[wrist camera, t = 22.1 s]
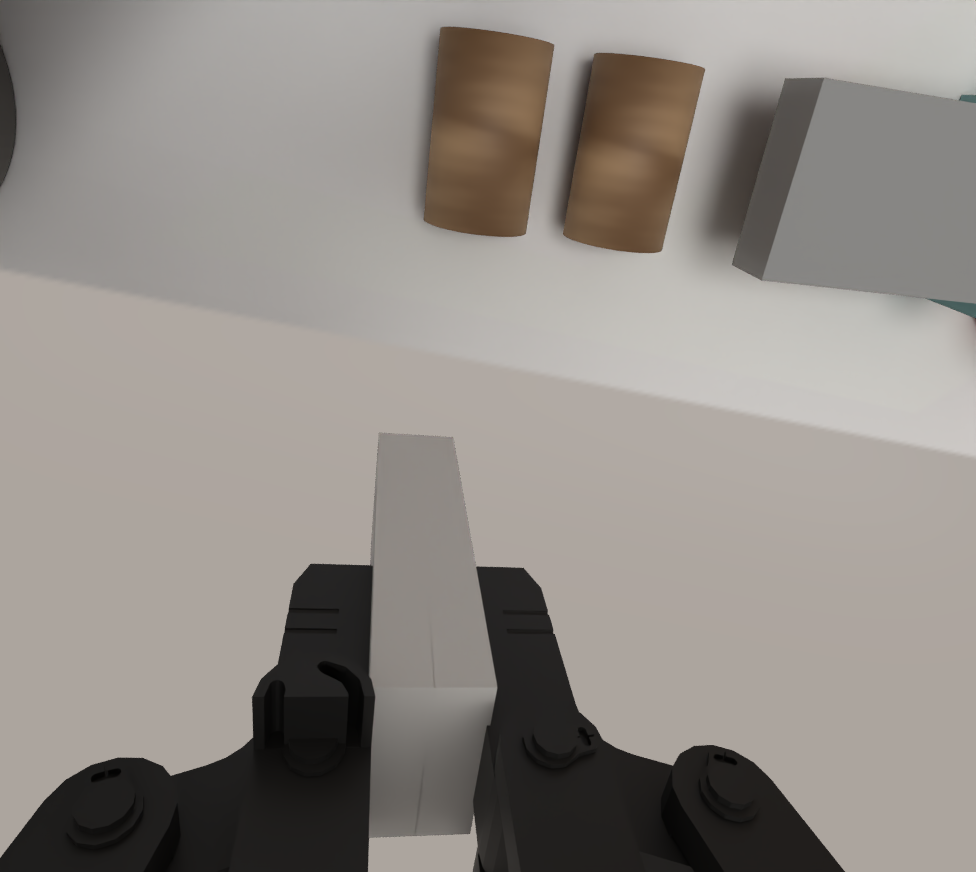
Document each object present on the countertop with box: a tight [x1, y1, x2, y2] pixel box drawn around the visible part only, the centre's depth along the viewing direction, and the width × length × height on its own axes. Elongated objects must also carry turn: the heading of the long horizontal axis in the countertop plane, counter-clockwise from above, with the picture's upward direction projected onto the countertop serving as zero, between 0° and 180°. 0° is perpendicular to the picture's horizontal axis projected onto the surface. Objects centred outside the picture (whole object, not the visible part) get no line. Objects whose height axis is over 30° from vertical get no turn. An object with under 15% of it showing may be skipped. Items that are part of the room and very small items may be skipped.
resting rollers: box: [424, 27, 705, 253], centre depth 32 cm, size 12×8×5 cm, turn 82°
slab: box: [732, 78, 976, 304], centre depth 31 cm, size 12×8×3 cm, turn 82°
